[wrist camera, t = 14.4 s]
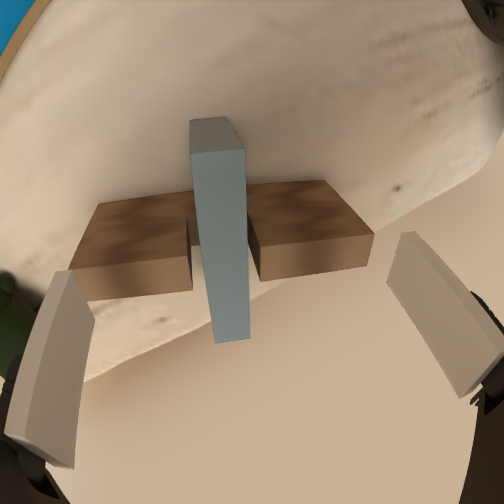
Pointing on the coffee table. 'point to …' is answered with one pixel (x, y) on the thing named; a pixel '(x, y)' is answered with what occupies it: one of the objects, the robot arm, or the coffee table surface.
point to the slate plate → (222, 224)
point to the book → (16, 26)
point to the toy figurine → (13, 325)
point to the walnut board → (186, 235)
